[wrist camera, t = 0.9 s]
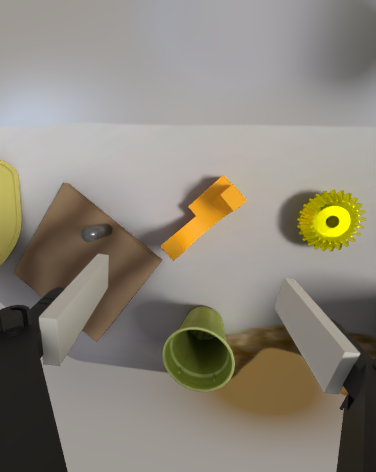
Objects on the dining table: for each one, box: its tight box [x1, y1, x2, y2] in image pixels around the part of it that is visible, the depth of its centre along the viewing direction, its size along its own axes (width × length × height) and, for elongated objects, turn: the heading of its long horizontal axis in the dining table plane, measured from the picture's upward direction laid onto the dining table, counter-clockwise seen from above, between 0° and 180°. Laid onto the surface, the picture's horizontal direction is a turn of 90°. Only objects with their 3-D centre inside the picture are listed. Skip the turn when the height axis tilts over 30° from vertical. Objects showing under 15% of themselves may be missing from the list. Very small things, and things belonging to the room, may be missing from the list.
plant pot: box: [162, 306, 235, 392], centre depth 32 cm, size 9×9×9 cm
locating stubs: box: [81, 223, 113, 242], centre depth 35 cm, size 2×19×5 cm, turn 142°
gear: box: [297, 190, 366, 251], centre depth 29 cm, size 8×4×8 cm
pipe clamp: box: [161, 175, 247, 261], centre depth 30 cm, size 12×4×6 cm, turn 131°
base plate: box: [13, 183, 162, 342], centre depth 38 cm, size 20×20×1 cm
